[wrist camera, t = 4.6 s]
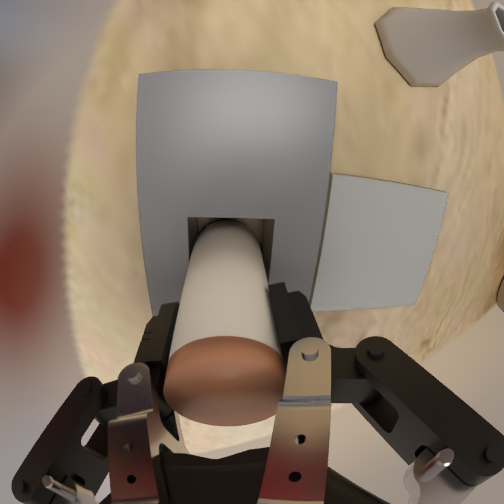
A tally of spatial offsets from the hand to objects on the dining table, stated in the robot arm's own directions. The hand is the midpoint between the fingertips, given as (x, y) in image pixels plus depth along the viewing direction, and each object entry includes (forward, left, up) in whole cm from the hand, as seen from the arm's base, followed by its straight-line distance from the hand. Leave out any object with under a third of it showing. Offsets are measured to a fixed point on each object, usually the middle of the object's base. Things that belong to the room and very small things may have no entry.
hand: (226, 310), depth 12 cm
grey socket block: (0, -1, -8) cm, 8 cm away
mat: (-12, 0, -8) cm, 15 cm away
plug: (0, 0, -5) cm, 5 cm away
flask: (-13, -17, -8) cm, 23 cm away
